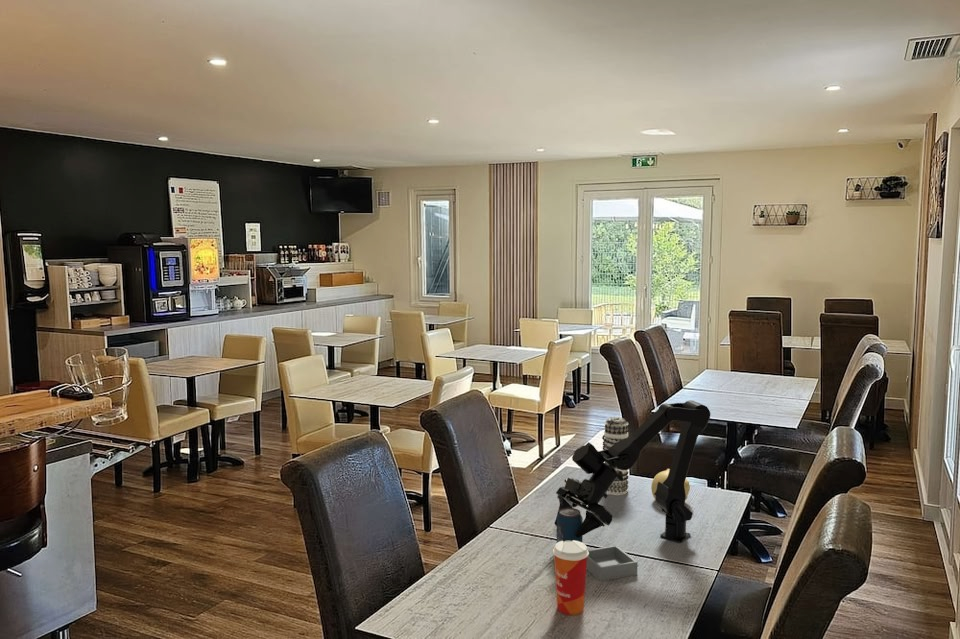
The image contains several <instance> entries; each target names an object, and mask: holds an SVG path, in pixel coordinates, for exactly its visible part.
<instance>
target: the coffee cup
mask: <svg viewBox="0 0 960 639" xmlns="http://www.w3.org/2000/svg"><path fill="white" fill-rule="evenodd" d="M588 550H589V549H588V546H587V545H586V544H585V543H583V541H582V542H579V541H575V540H573V541H565V542H564V543H563V541H560V542H558V543H557V542H556V544H554V548H553V550H552V554H553V555H554V556H553V558H554V574H555V588H556V589H555V592H556V604H557V605H556V606H557V611H559V612H560V613H561V614H563V615H566V616H567V615H568V616H576V615H580V614H582V613H583V611H584V608H585V606H584V605H585V597H586V596H585V595H586V594H585V593H586V582H587V581H586V579H587V569H586V568H587V556H588V555H589V551H588Z"/></svg>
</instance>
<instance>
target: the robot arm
mask: <svg viewBox="0 0 960 639" xmlns="http://www.w3.org/2000/svg"><path fill="white" fill-rule="evenodd" d="M710 419H711V410H710V409H709V407H708V406H706V405H704V404H702V403H700V402H697V401H695V400H691V399H690V400H686V401H685V402H673V403H663V404H661V405H660V406H659V407H658V409H657V410H655V412H653V414H652V415H650V416H649V417H648V419H646V420H645V421H644V422H643V423H642V424H641V425H640V426H639V427H638V428H637V429H636V430H635V431H634V432H633V433H632V434H631V435H628V437H627V438H625V439H623V440H620V441H618V442H617V443H616V444H614V445H613V446H611V447H610V448H609V449H606V450H603V449H602V450H597V448H596V447H595V446H594V445H593V444H592V443H591V442H589V441H588V442H587V443H586V444H584V445H581V446H580V447H579V448H577V449H576V450H575V451H574V452H573V454H572V457H571V459H572V461H573V463H574V464H576V465H577V466H578V467H579V468H581V470H582V471H583V472H584V473H585V474H588V475H590V474H591V475H590V477H589V479H587V478H585V479H583V480H582V481H580V480H579V481H580V482H579V481H576V480H573V479H574V478H572V479H571V478H570V477H567V478H566V479H567V482H566V484H565V487H563V486H559V488H558V489H557V491H556V492H555V494H556V495H557V499H558V503H559V506H558V510H557V514H556V517H555V521H554V525H555V526H556V527H557V516H558V514H559V510H561V509H563V508H576V507H580V508H582V509H584V510H585V518H584V520H583V523H582V524H581V526H580V527H579V529H578V531H577V532H576V534H575V537H577V538H579V537H581V536H582V537H583V536H585V535H586V534H588V533H590V532H592V531H594V530H596V529H599V528H601V527H605V525H606V526H610V525H611V523H612V522H613V514H612V513H611V512H609V510H608V509H607V508H606V507H605V506H603V505H602V504H600V501H601V500H602V499H603V498H604V499H607V497H608V495H609V494H606V492H607V490H608V489H609V488H610V486H611V485H612V483H613V482H614V480H618V481H623V476H622V471H619V470H617V471H616V470H615V469H614V468H613V467H612V466H614V467H617V468H619V469H620V470H627V471H628V470H630V469H631V468H632V467H633V466H635V464H636V462H637V461H638V460H639V458H640V455H641V452H642V451H643V450H644V448H645V447H646V446H647V445H648V444H650V442H651V441H652V440H654V439H655V438H656V437H657V435H659V433H661V432H662V431H663V430H664V429H665V428H666V427H667V426H668V425H669V424H670V423H671V422H672V421H679V426H680V432H679V437H678V438H677V439H678V440H677V443H676V445H675V451H674V453H673V457H672V460H671V464H670V468H669V469H670V470H669V474H668V477H667V479H666V480H665V481H664V482H663V483H661V482H658V484H657V490H656V492H655V493H654V495H655V496H656V497H655V498H654V500H655V503H656V504H657V505H658V506H659V507H660V510H661V512H663V513H664V514H665V518H664V519H665V522H664V523H665V524H664V526H665V527H664V531H663V532H662V533H660V534H659V536H660V538H664V539H667V540H671V541H674V542H678V543H682V542H684V541H686V540H687V539H688V538H689V537H691V533H689V532H687V531H686V530H687V521H691V519H692V517H693V515H694V513H693V512H692V511H691V510H690V509H689V508H688V507H687V506H686V500H687V499H686V493H685V487H684V483H685V479H687V475H688V472H689V468H690V465H691V461H692V458H693V454H694V451H695V447H696V444H697V441H698V437H699V435H701V433H703V431H704V430H705V429H706V427H707V426H708V423H709V421H710ZM605 462H606V463H608V464H609V465H606V464H605ZM685 499H686V500H685Z"/></svg>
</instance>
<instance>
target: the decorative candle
mask: <svg viewBox="0 0 960 639" xmlns="http://www.w3.org/2000/svg"><path fill="white" fill-rule="evenodd" d="M603 423H604V431H603V435H602V438H601V439H602V440H603V441H602V450H606V449H609V448H610V447H611V446H613V445H614V444H616V443H617V442H618V441H620V440H623V439H625V438H628V437H629V432H628V429H629V428H628V425H630V424H629V422H628V421H627V420H626V419H625V418H624V417H620V416H610V417H608V418H607V419H606V421H604V422H603ZM604 463H605V464H606V465H609V464H608V463H606V462H604ZM612 467H613V468H614V469H615V470H616V471H617V470H619V471H622V476H623V481H618V480H614V482H613V483H612V485H611V486H610V488H609V489H608V490H607V492H606V493H607V495H610V494H613V495H612V496H623V495H622V494H625V495H626V493H627V492H629V490H628V489H629V480H628V479H629V471H628V470H620V469H619V468H617V467H614V466H612ZM627 494H628V493H627Z"/></svg>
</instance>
